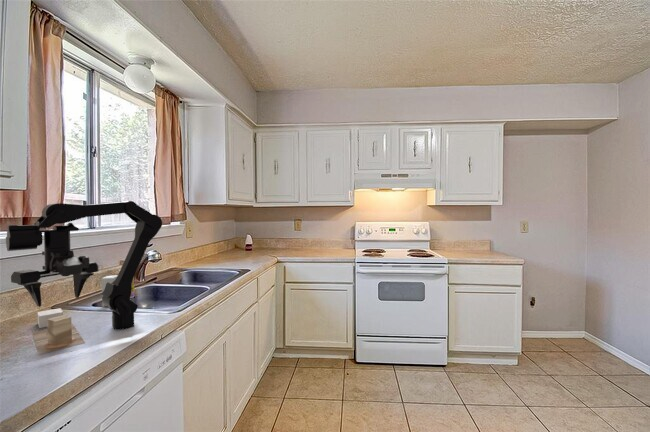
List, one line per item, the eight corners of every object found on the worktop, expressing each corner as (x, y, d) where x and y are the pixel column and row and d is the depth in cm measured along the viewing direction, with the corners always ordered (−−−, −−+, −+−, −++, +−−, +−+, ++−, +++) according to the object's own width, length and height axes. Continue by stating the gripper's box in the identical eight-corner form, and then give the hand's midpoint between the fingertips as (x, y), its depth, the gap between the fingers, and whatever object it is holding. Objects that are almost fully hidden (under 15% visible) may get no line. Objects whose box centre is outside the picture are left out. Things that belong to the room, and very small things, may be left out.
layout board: (85, 347, 92) (85, 342, 92) (38, 358, 85) (38, 354, 84) (72, 327, 107) (72, 323, 107) (32, 335, 100) (32, 332, 100)
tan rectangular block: (71, 340, 93) (71, 317, 93) (55, 346, 89) (54, 321, 89) (64, 338, 95) (63, 315, 94) (47, 343, 91) (47, 319, 91)
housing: (63, 326, 108) (62, 312, 107) (39, 331, 103) (38, 316, 103) (60, 322, 112) (60, 308, 112) (37, 326, 108) (37, 312, 107)
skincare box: (114, 308, 128) (113, 277, 127) (101, 309, 127) (100, 278, 126) (120, 303, 134) (119, 274, 133) (107, 304, 132) (107, 275, 132)
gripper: (30, 253, 79) (32, 315, 80) (109, 245, 96) (110, 296, 97) (9, 250, 84) (10, 309, 84) (87, 243, 101) (88, 292, 101)
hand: (59, 301), depth 92 cm, fingers open, 9 cm apart
